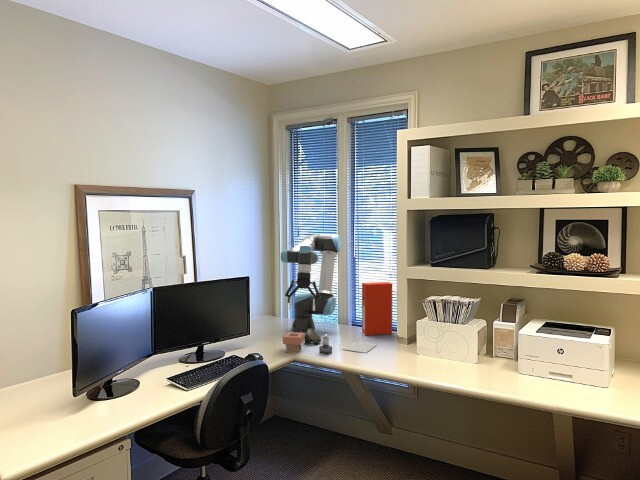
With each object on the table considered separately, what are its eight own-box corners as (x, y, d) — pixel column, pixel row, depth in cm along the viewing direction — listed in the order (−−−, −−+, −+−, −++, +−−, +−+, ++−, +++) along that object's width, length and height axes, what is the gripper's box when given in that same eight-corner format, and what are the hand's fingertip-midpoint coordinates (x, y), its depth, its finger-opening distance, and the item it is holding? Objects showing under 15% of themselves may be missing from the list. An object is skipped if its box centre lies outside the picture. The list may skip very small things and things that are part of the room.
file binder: (361, 332, 305) (362, 282, 303) (387, 331, 308) (388, 281, 306) (365, 335, 297) (365, 284, 295) (392, 334, 300) (392, 283, 298)
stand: (289, 348, 270) (289, 331, 270) (301, 349, 269) (301, 332, 268) (286, 352, 263) (286, 334, 263) (298, 353, 262) (298, 335, 262)
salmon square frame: (287, 339, 272) (287, 332, 271) (304, 339, 270) (304, 333, 270) (282, 344, 262) (282, 336, 262) (300, 344, 260) (300, 337, 260)
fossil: (321, 344, 276) (313, 329, 275) (308, 351, 277) (299, 337, 276) (322, 338, 287) (314, 324, 286) (308, 345, 288) (300, 331, 287)
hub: (320, 350, 267) (320, 332, 266) (332, 350, 266) (332, 333, 265) (318, 354, 260) (318, 336, 259) (330, 354, 259) (330, 336, 258)
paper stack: (392, 348, 272) (392, 347, 272) (376, 360, 250) (376, 359, 250) (354, 343, 282) (354, 341, 282) (336, 354, 260) (336, 353, 260)
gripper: (281, 270, 271) (278, 308, 269) (324, 273, 267) (322, 311, 264) (284, 271, 279) (282, 308, 276) (326, 273, 274) (324, 311, 272)
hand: (301, 310), depth 270 cm, fingers open, 13 cm apart
